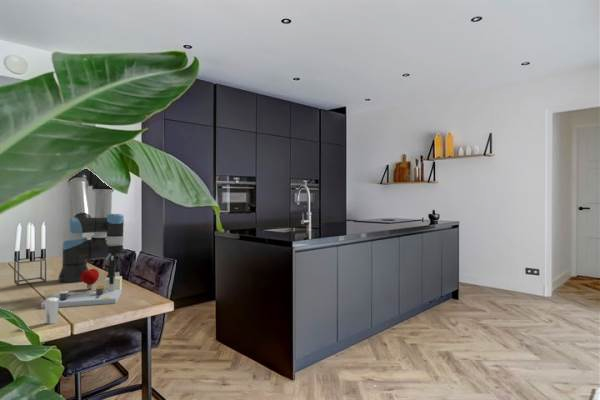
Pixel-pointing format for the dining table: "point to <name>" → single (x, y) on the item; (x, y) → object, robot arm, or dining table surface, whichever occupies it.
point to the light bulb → (90, 277)
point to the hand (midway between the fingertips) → (113, 287)
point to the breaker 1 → (63, 295)
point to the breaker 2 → (99, 290)
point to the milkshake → (51, 310)
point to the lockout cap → (117, 283)
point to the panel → (87, 298)
